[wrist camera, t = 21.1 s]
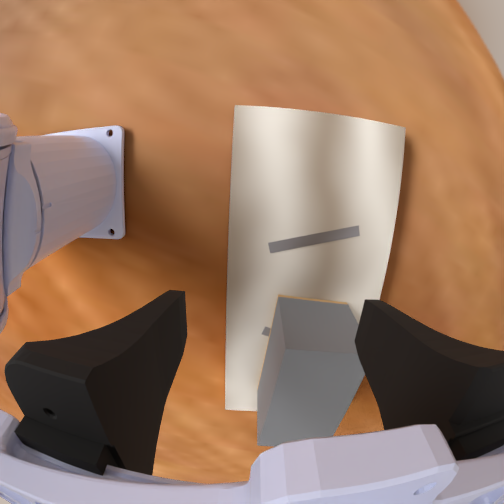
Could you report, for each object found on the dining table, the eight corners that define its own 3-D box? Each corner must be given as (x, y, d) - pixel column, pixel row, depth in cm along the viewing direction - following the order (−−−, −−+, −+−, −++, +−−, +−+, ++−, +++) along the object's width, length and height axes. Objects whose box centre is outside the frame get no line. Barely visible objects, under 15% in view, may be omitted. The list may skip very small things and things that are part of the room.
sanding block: (257, 388, 23) (257, 445, 18) (277, 294, 20) (285, 348, 15) (315, 392, 23) (326, 446, 18) (346, 302, 20) (374, 353, 15)
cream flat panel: (226, 400, 25) (225, 409, 24) (235, 108, 18) (234, 105, 16) (342, 400, 25) (344, 409, 24) (397, 128, 18) (405, 127, 17)
